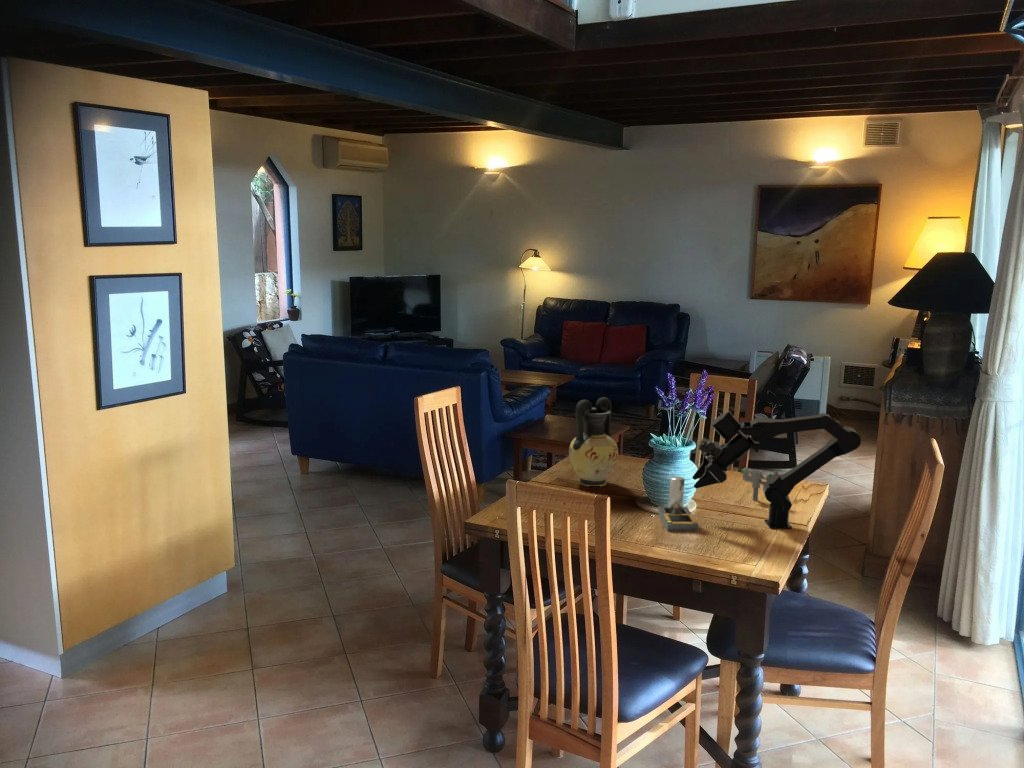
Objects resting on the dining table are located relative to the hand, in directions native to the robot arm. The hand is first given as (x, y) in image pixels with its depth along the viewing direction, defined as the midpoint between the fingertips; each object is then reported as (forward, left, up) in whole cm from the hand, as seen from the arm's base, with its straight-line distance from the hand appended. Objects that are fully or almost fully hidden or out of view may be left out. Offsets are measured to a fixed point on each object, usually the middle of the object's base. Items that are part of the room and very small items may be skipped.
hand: (693, 482), depth 255 cm
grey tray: (-3, +5, -11) cm, 13 cm away
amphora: (+35, +27, -12) cm, 46 cm away
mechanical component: (+19, -25, -12) cm, 34 cm away
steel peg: (+1, +5, -11) cm, 13 cm away
